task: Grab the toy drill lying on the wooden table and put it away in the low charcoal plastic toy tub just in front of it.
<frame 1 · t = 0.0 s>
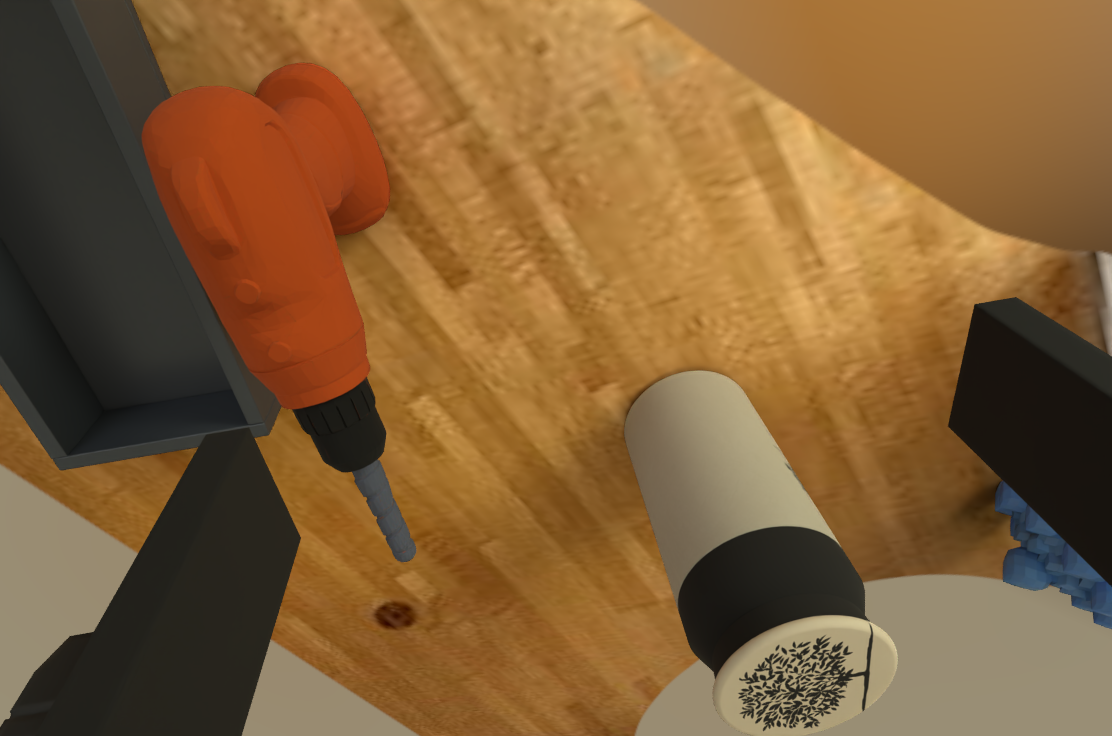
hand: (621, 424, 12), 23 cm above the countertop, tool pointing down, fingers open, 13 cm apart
toy tub: (87, 187, 31), on the countertop
travel mug: (685, 420, 42), on the countertop
grapes: (990, 490, 48), on the countertop
toy drill: (365, 235, 34), on the countertop
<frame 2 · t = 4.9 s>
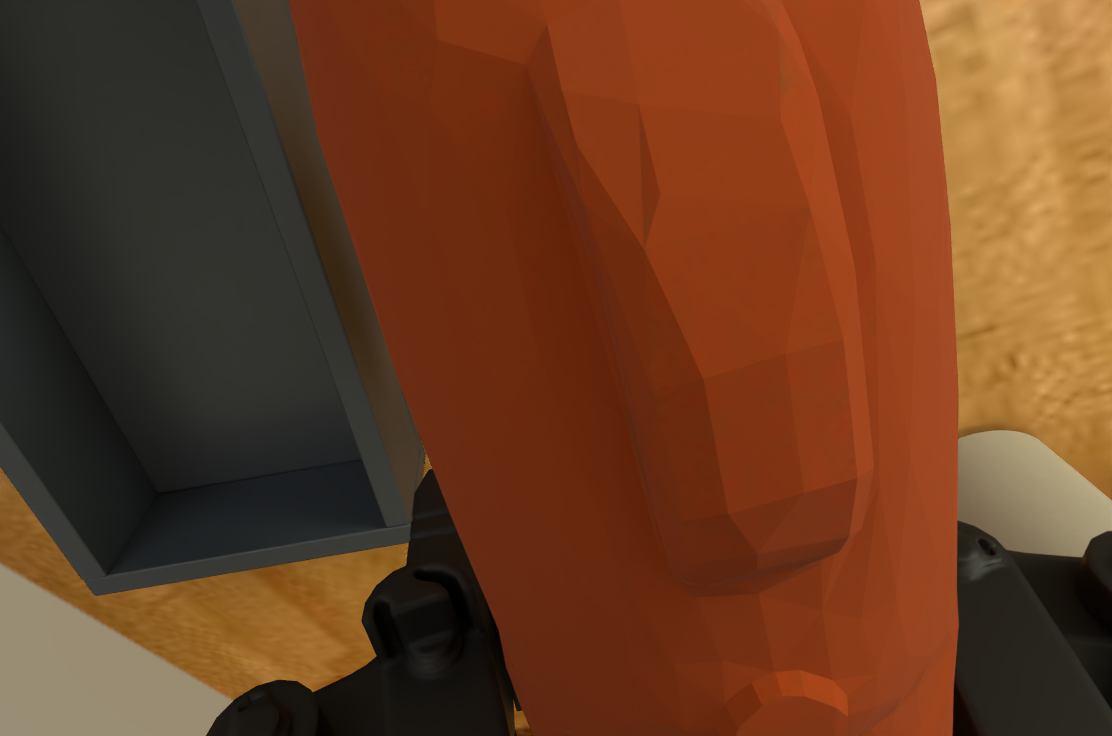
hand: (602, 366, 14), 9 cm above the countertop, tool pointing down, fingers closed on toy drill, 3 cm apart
toy tub: (147, 156, 20), on the countertop
travel mug: (957, 495, 30), on the countertop
toy drill: (585, 285, 18), point 4 cm above the countertop, touching gripper
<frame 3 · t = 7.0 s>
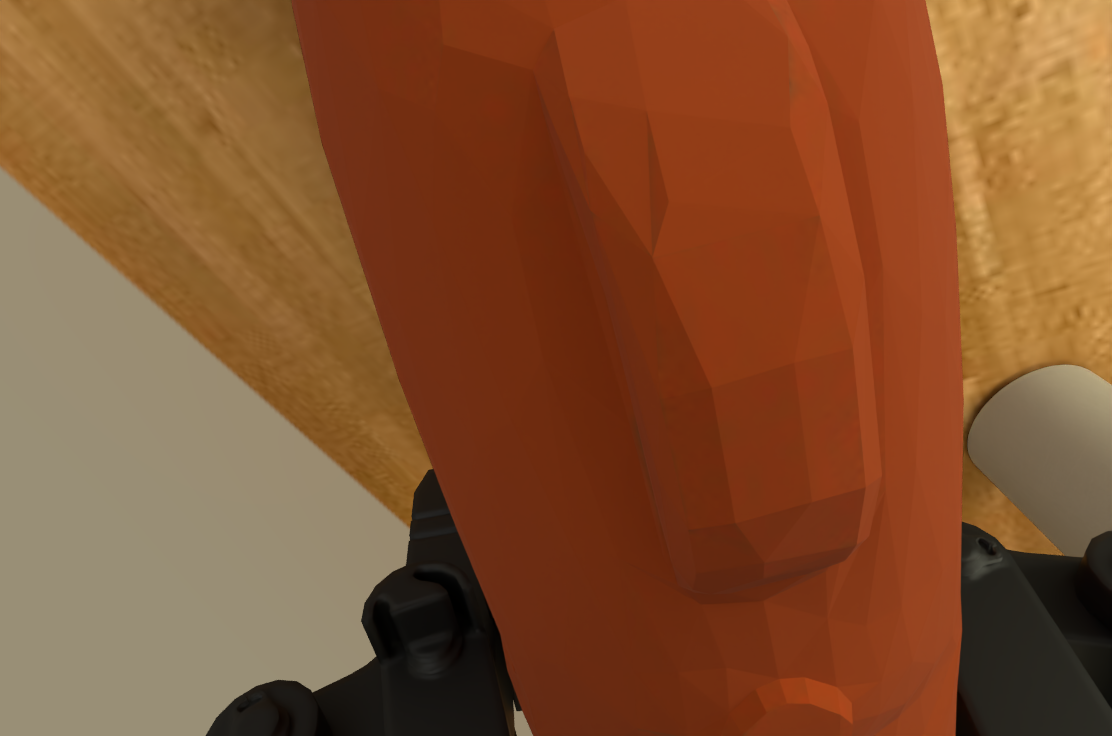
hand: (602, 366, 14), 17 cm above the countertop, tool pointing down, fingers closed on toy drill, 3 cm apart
travel mug: (1028, 417, 40), on the countertop
toy drill: (585, 286, 18), point 13 cm above the countertop, touching gripper
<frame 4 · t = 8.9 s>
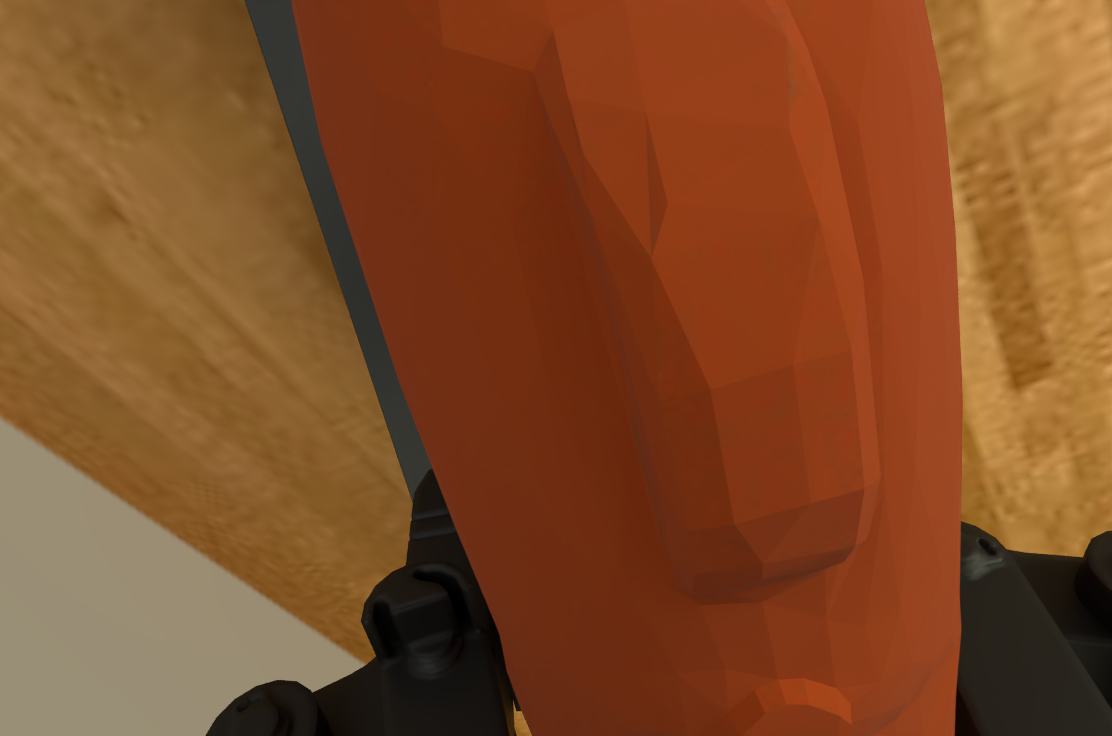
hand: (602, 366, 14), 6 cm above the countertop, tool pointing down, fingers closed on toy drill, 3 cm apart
toy tub: (566, 249, 20), on the countertop
toy drill: (585, 286, 18), point 2 cm above the countertop, touching gripper
when the fingers open (5 cm above the countertop, at t = 9.4 s): toy drill stays where it is, resting on toy tub.
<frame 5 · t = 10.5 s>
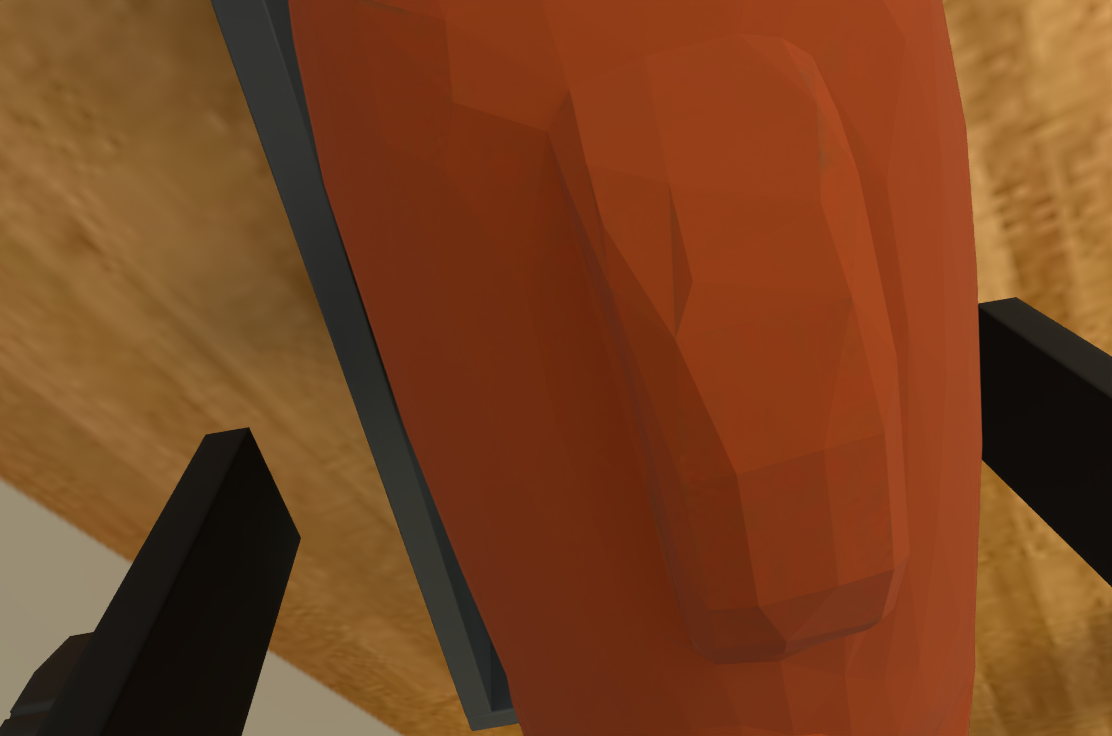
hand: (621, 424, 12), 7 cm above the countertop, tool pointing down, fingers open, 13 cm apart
toy tub: (575, 279, 18), on the countertop
toy drill: (587, 291, 18), resting on toy tub
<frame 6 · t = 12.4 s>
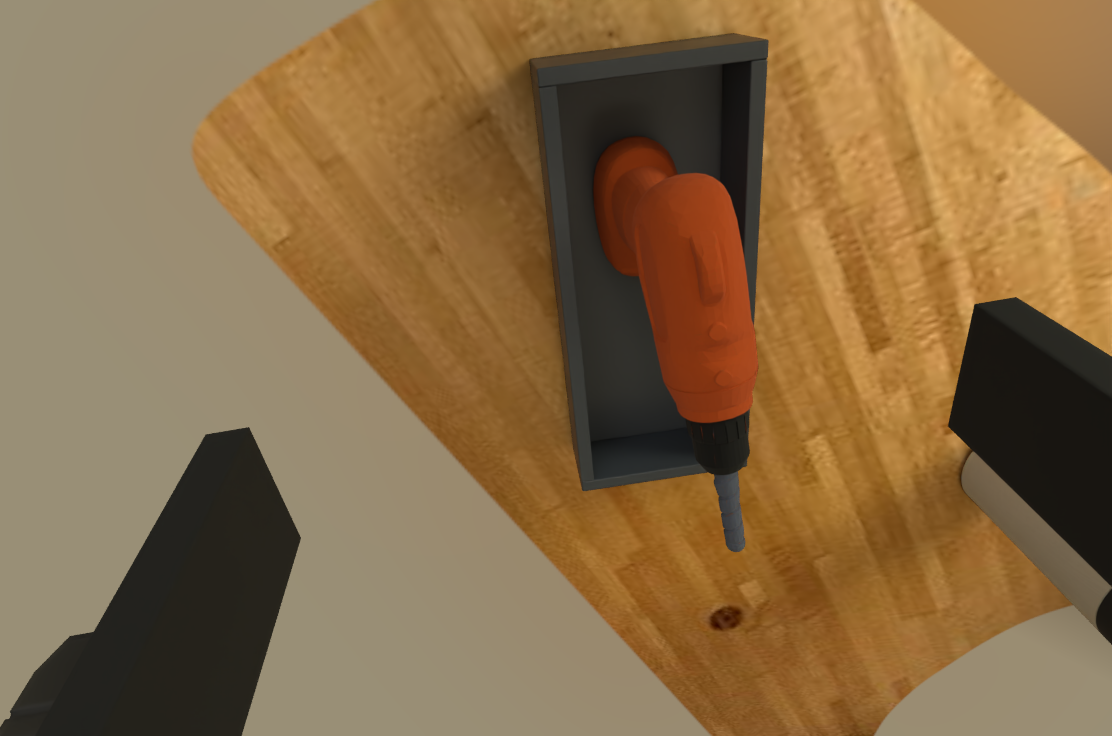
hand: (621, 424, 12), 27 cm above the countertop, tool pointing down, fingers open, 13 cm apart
toy tub: (642, 271, 40), on the countertop
travel mug: (1007, 458, 51), on the countertop
toy drill: (647, 276, 40), resting on toy tub
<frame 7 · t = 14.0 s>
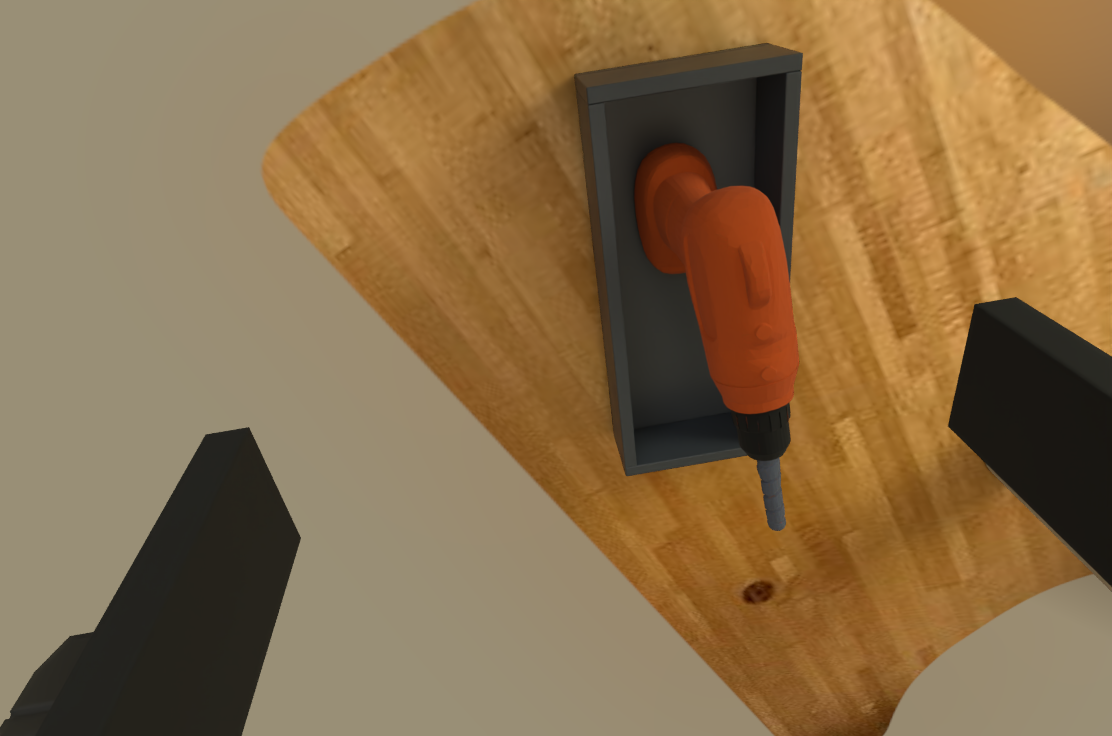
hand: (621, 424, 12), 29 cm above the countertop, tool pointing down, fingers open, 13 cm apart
toy tub: (679, 268, 43), on the countertop
travel mug: (1029, 435, 53), on the countertop
toy drill: (684, 273, 42), resting on toy tub
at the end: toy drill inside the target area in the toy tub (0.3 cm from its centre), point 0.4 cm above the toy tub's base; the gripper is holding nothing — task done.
